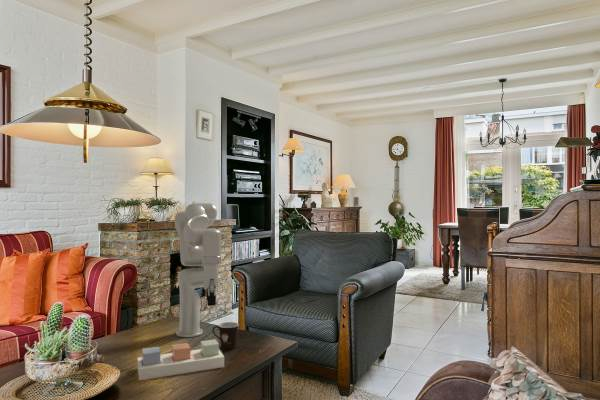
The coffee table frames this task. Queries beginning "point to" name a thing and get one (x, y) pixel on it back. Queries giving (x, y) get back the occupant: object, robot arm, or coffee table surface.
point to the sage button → (209, 348)
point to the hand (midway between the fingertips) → (211, 302)
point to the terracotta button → (181, 352)
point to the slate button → (150, 356)
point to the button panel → (179, 365)
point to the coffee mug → (227, 335)
